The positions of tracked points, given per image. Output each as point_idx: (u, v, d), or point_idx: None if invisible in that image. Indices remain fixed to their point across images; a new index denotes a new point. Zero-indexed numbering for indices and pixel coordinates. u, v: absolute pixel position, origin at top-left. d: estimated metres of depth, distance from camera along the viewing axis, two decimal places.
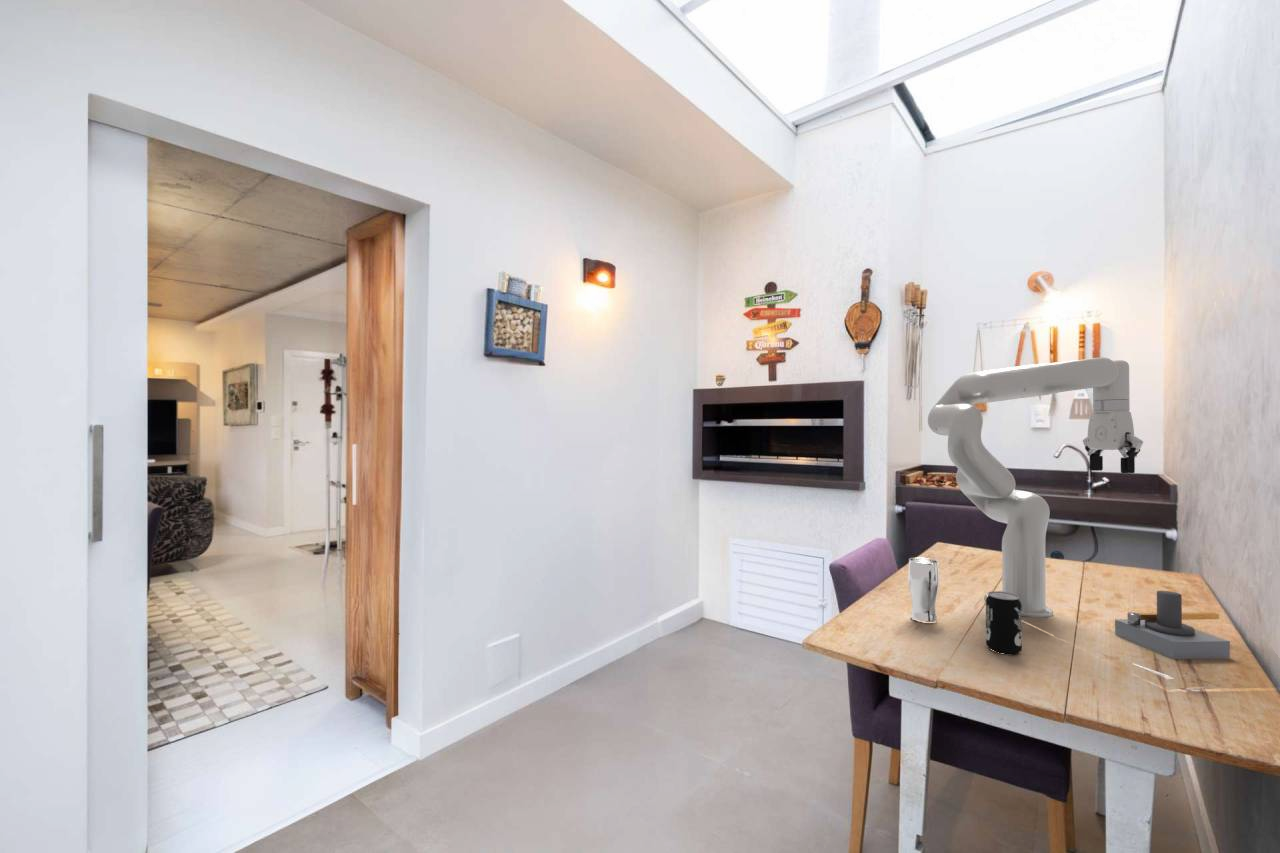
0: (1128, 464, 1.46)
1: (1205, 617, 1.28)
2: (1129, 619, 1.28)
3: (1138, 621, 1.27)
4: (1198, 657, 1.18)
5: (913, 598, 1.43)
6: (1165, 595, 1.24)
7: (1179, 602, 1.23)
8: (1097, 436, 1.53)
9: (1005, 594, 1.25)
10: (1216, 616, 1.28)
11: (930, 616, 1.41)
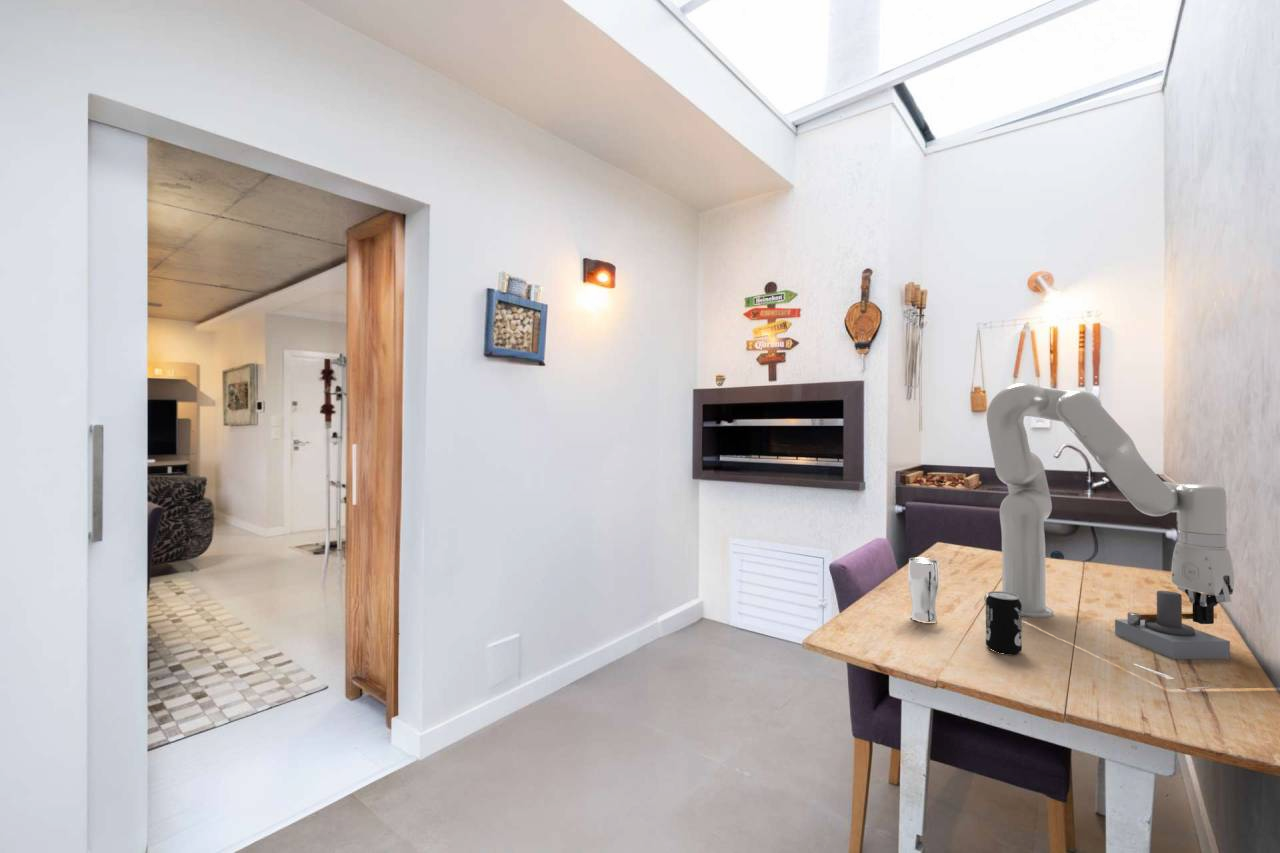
0: (1206, 614, 1.25)
1: None
2: (1129, 619, 1.28)
3: (1138, 621, 1.27)
4: (1198, 657, 1.18)
5: (913, 598, 1.43)
6: (1165, 595, 1.24)
7: (1179, 602, 1.23)
8: (1185, 573, 1.28)
9: (1005, 594, 1.25)
10: (1214, 615, 1.28)
11: (930, 616, 1.41)
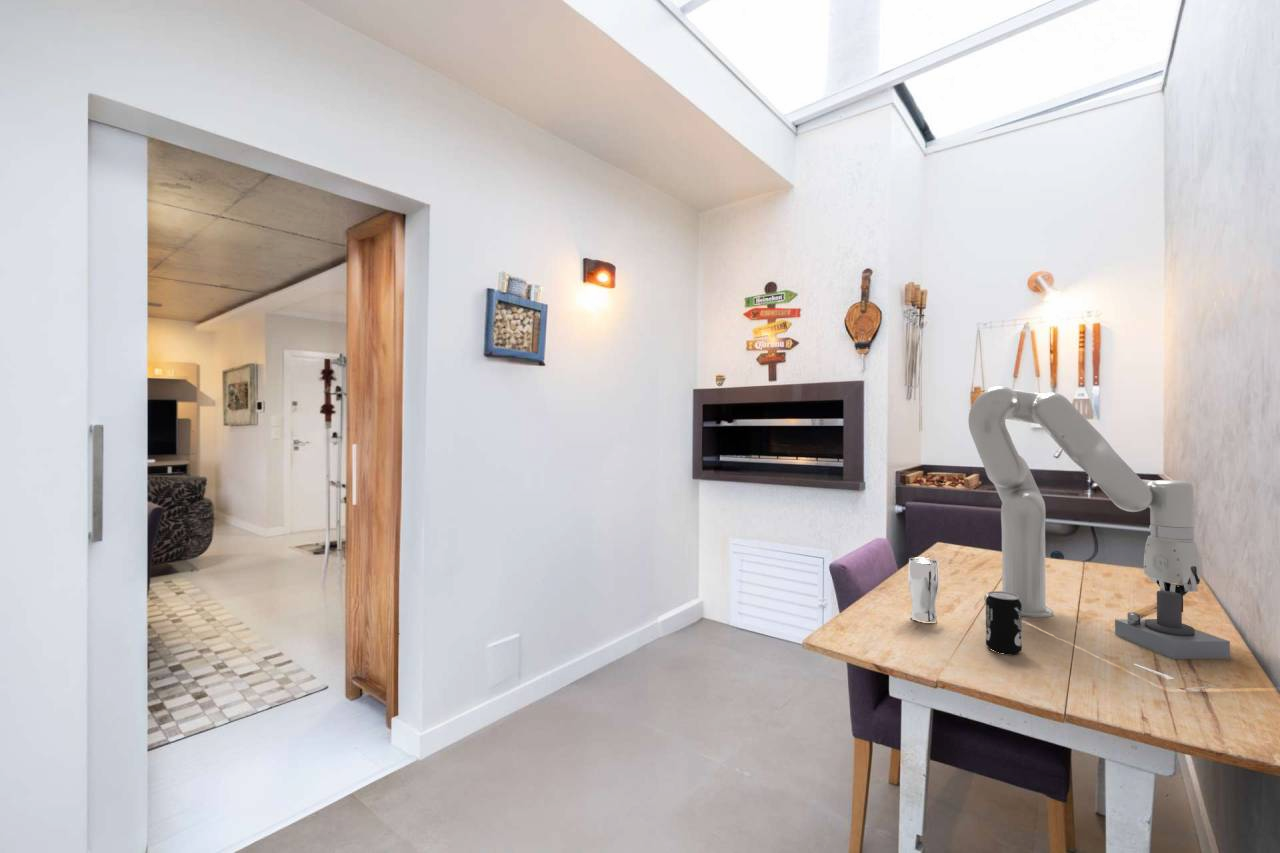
0: None
1: None
2: (1132, 620, 1.28)
3: None
4: (1198, 657, 1.18)
5: (913, 598, 1.43)
6: (1165, 595, 1.24)
7: (1179, 602, 1.23)
8: (1156, 565, 1.35)
9: (1005, 594, 1.25)
10: None
11: (930, 616, 1.41)
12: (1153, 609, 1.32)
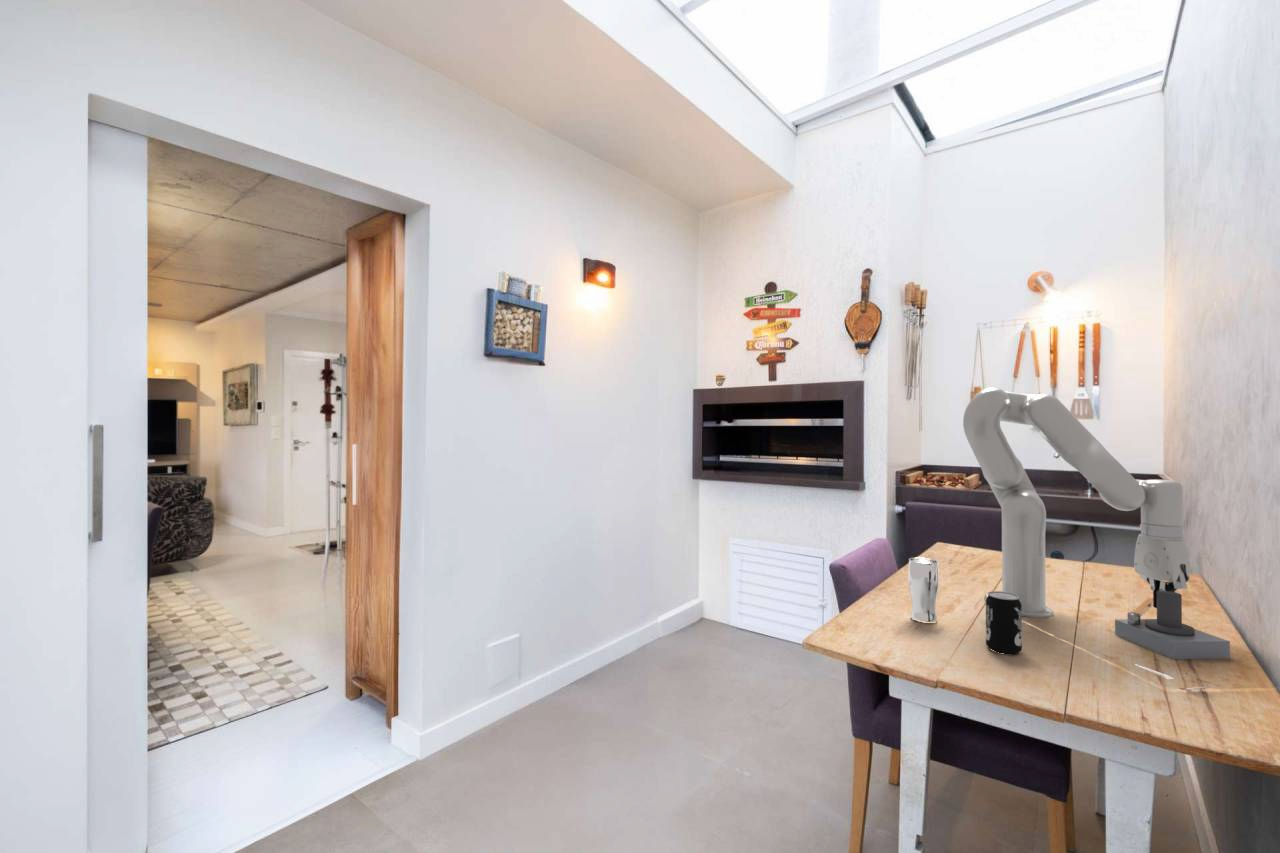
0: None
1: (1152, 604, 1.38)
2: (1133, 620, 1.27)
3: None
4: (1198, 657, 1.18)
5: (913, 598, 1.43)
6: (1165, 595, 1.24)
7: (1179, 602, 1.23)
8: (1146, 563, 1.37)
9: (1005, 594, 1.25)
10: None
11: (930, 616, 1.41)
12: (1146, 607, 1.33)
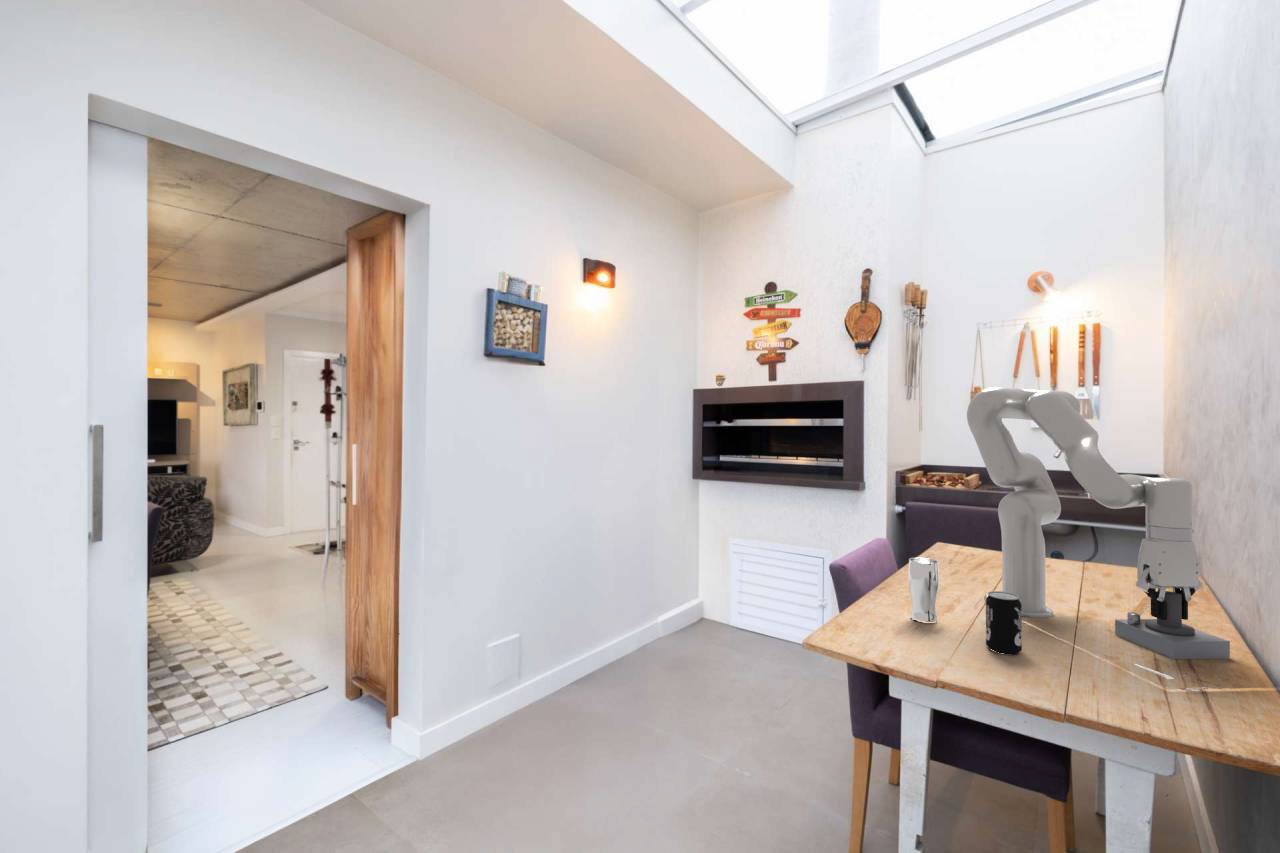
0: (1151, 606, 1.26)
1: (1149, 603, 1.38)
2: (1133, 620, 1.27)
3: None
4: (1198, 657, 1.18)
5: (913, 598, 1.43)
6: (1165, 595, 1.24)
7: (1179, 602, 1.23)
8: None
9: (1005, 594, 1.25)
10: (1150, 600, 1.40)
11: (930, 616, 1.41)
12: (1144, 607, 1.34)
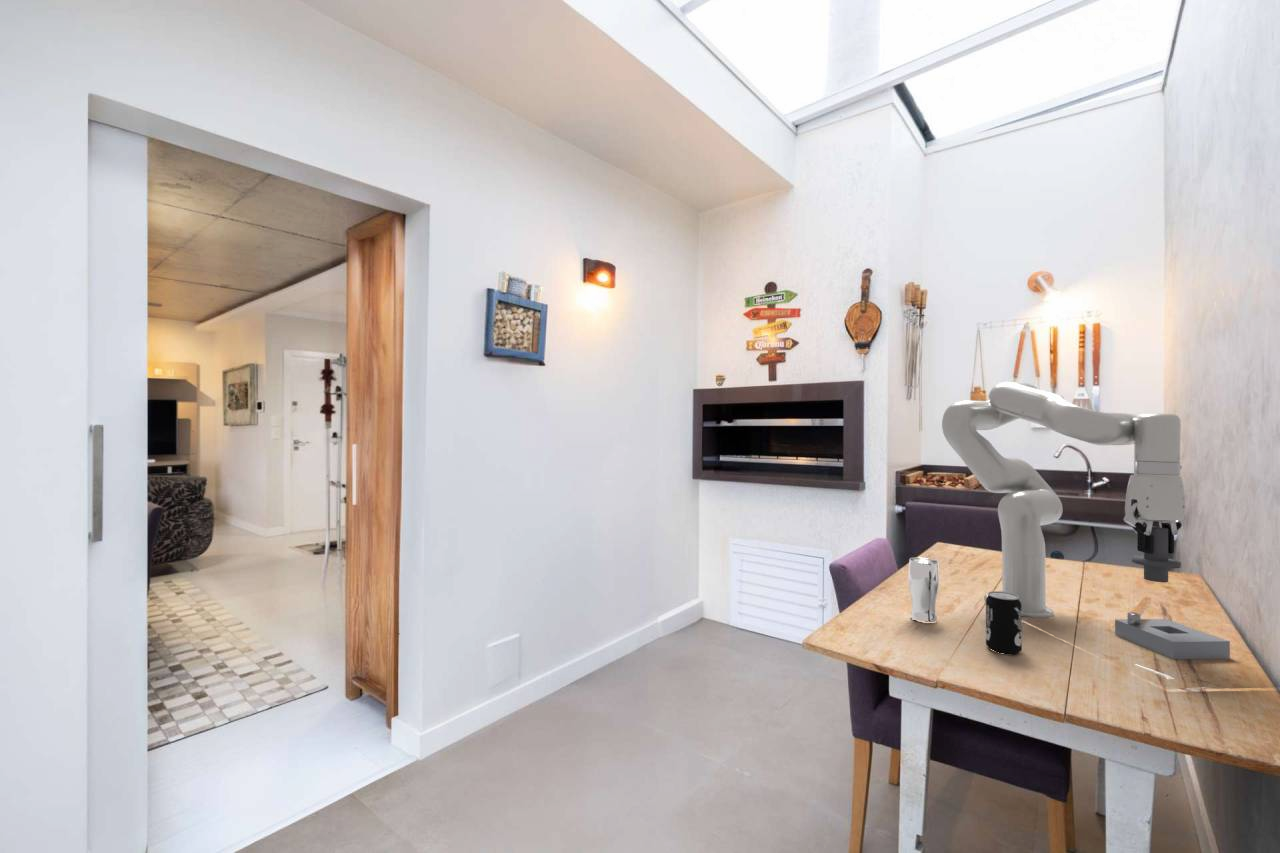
0: (1138, 541, 1.27)
1: (1149, 603, 1.38)
2: (1133, 620, 1.27)
3: None
4: (1198, 657, 1.18)
5: (913, 598, 1.43)
6: (1152, 529, 1.25)
7: (1166, 536, 1.24)
8: None
9: (1005, 594, 1.25)
10: (1150, 600, 1.40)
11: (930, 616, 1.41)
12: (1144, 607, 1.34)
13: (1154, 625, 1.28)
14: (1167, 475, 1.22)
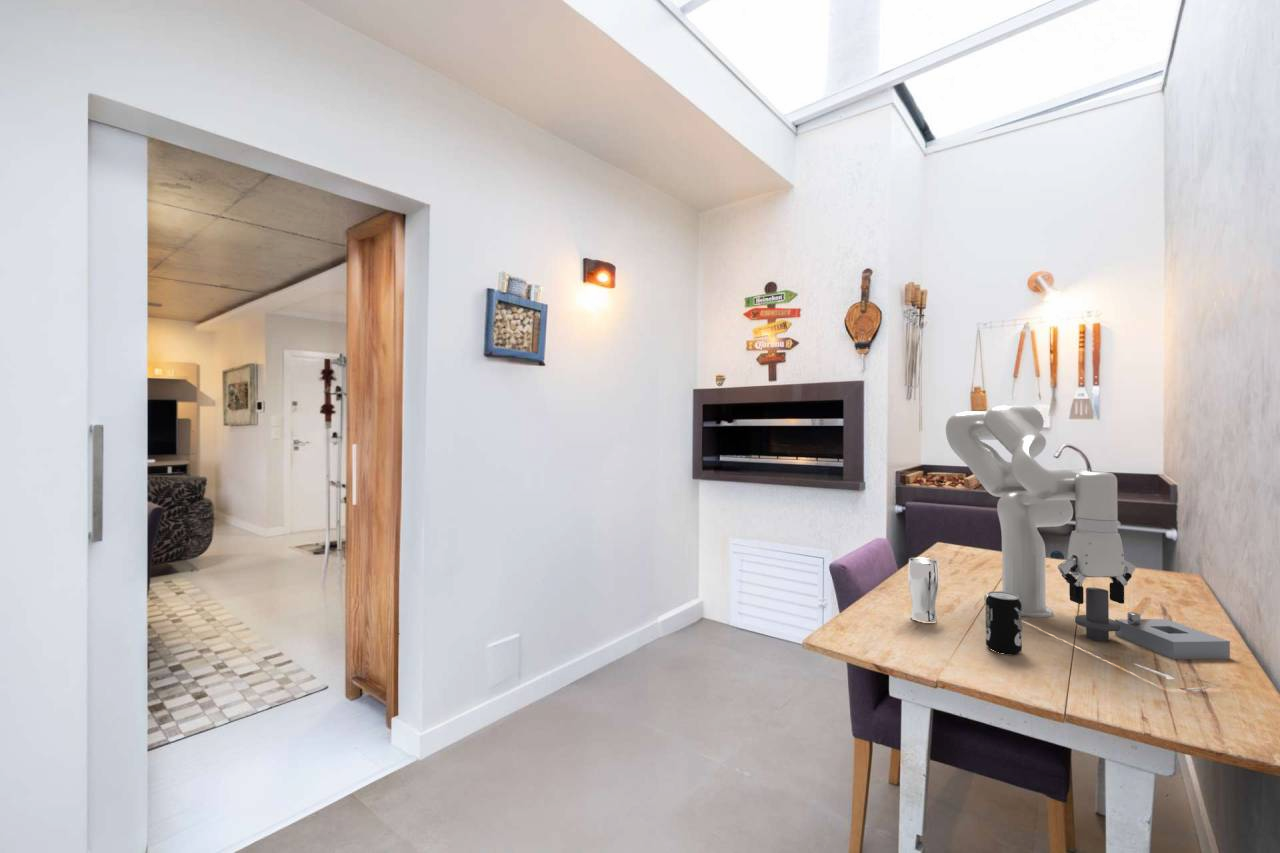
0: (1070, 591, 1.30)
1: (1149, 603, 1.38)
2: (1133, 620, 1.27)
3: None
4: (1198, 657, 1.18)
5: (913, 598, 1.43)
6: (1093, 592, 1.29)
7: (1106, 598, 1.28)
8: None
9: (1005, 594, 1.25)
10: (1150, 600, 1.40)
11: (930, 616, 1.41)
12: (1144, 607, 1.34)
13: (1154, 625, 1.28)
14: (1104, 533, 1.26)
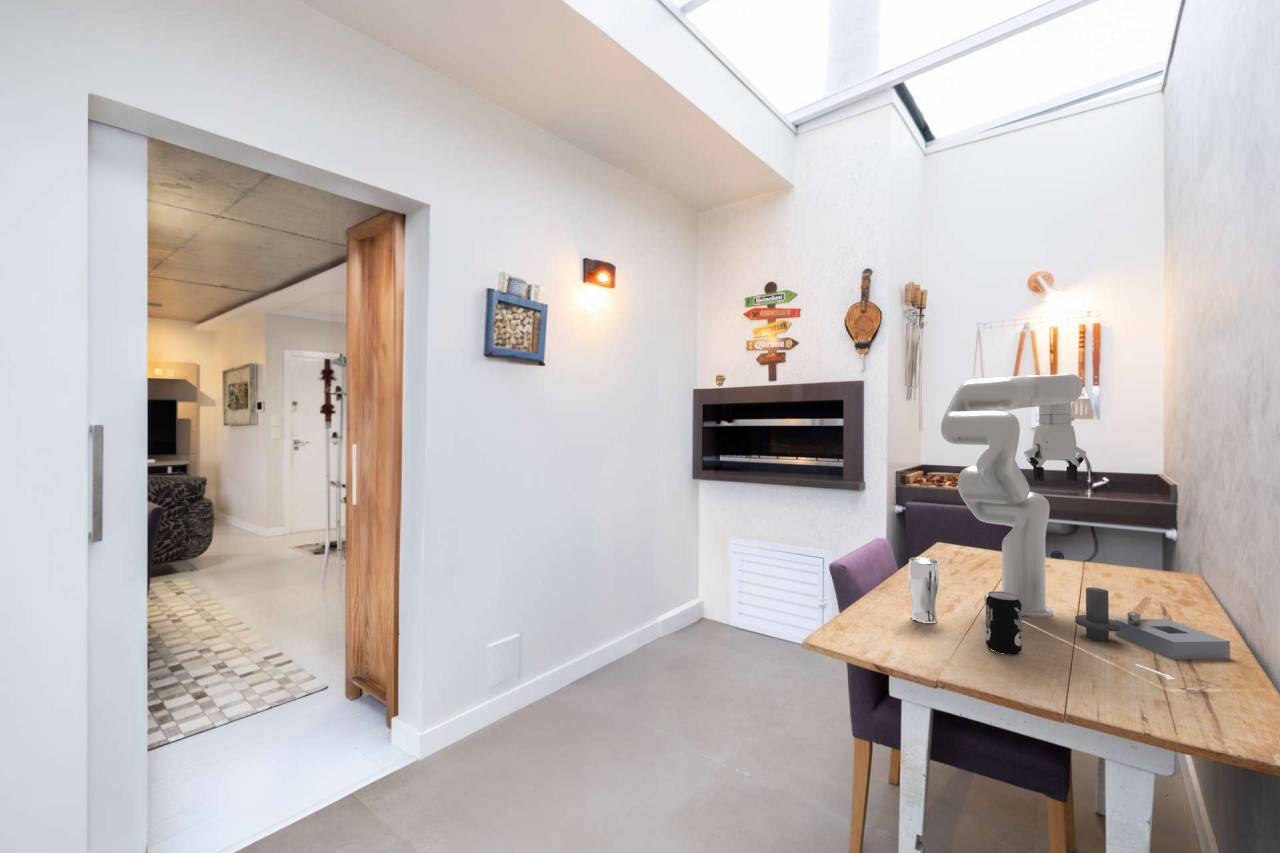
0: (1033, 472, 1.64)
1: (1149, 603, 1.38)
2: (1133, 620, 1.27)
3: None
4: (1198, 657, 1.18)
5: (913, 598, 1.43)
6: (1093, 592, 1.29)
7: (1106, 598, 1.28)
8: None
9: (1005, 594, 1.25)
10: (1150, 600, 1.40)
11: (930, 616, 1.41)
12: (1144, 607, 1.34)
13: (1154, 625, 1.28)
14: (1060, 424, 1.60)
